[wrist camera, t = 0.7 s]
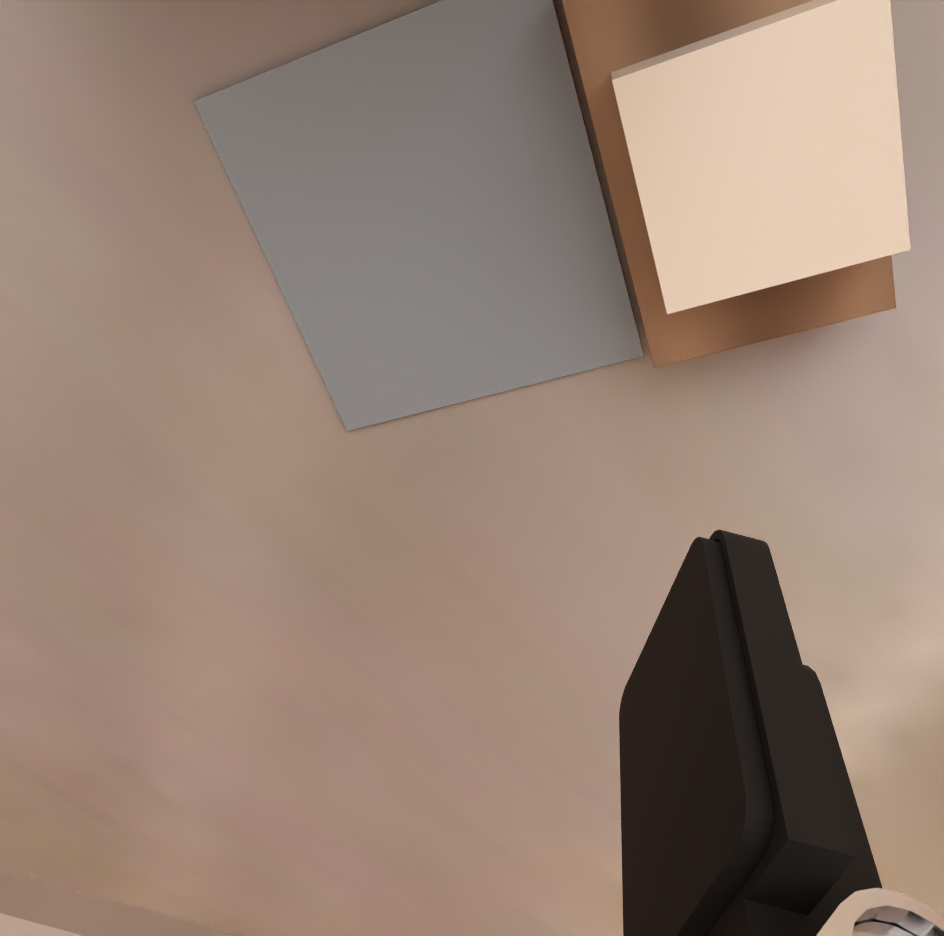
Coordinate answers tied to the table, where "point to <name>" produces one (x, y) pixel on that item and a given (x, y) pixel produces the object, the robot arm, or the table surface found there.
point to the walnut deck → (669, 335)
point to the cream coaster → (769, 151)
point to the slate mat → (431, 208)
